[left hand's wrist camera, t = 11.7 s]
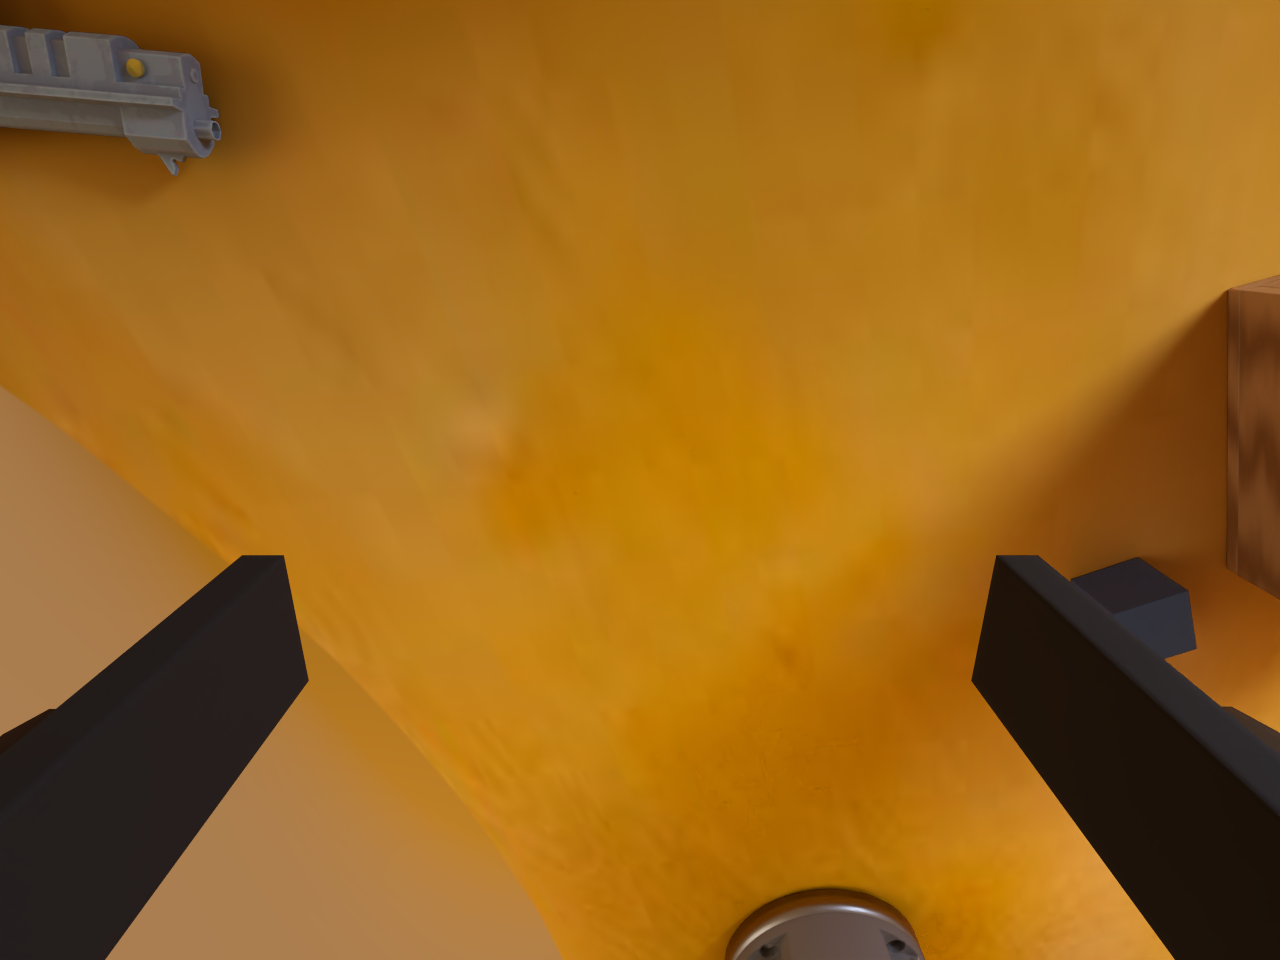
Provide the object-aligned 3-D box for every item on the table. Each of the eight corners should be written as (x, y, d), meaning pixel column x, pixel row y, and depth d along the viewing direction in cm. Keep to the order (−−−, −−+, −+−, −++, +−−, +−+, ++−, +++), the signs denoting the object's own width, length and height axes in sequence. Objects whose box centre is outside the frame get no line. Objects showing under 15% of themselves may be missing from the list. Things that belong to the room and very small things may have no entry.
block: (1147, 611, 44) (1197, 649, 40) (1081, 632, 44) (1124, 671, 40) (1138, 556, 43) (1188, 590, 39) (1070, 579, 43) (1113, 614, 39)
